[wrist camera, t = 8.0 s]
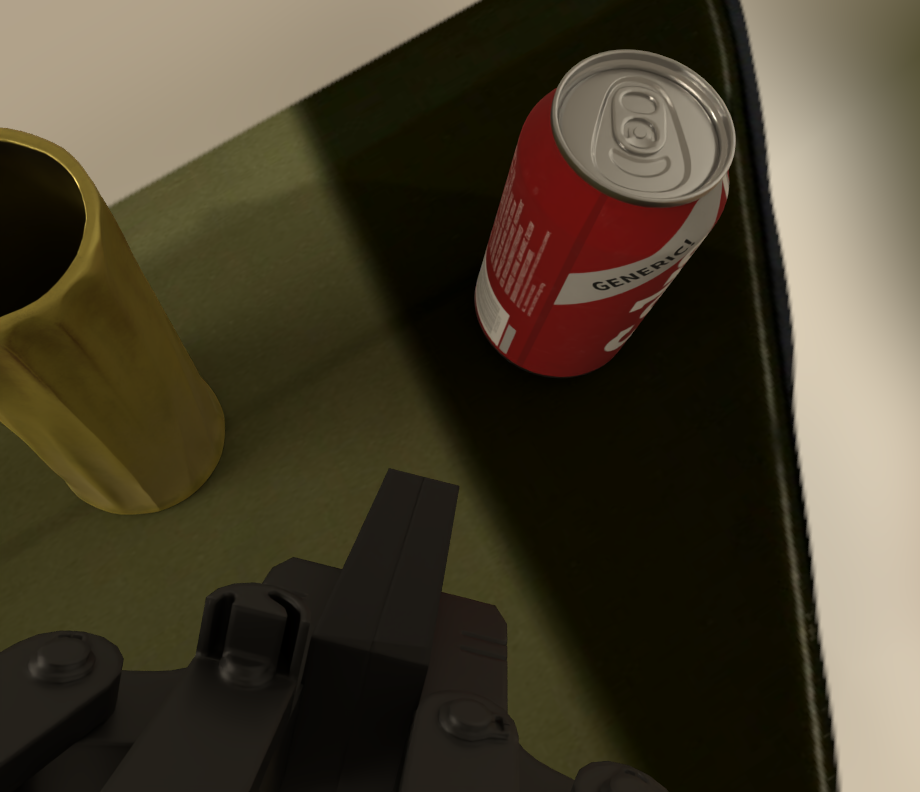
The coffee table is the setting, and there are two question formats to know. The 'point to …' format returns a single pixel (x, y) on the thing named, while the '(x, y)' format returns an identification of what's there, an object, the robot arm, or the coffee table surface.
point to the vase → (92, 345)
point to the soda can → (601, 209)
